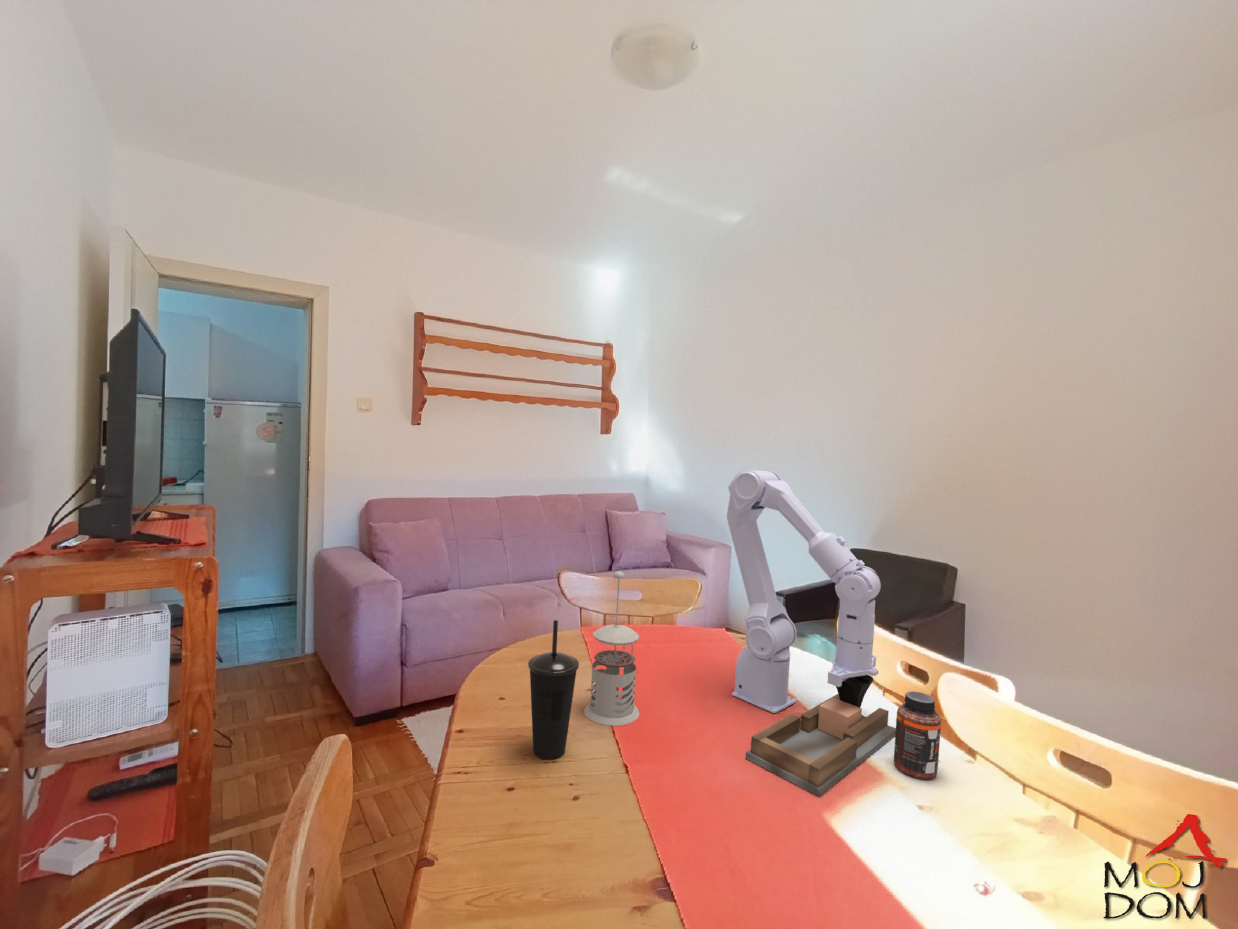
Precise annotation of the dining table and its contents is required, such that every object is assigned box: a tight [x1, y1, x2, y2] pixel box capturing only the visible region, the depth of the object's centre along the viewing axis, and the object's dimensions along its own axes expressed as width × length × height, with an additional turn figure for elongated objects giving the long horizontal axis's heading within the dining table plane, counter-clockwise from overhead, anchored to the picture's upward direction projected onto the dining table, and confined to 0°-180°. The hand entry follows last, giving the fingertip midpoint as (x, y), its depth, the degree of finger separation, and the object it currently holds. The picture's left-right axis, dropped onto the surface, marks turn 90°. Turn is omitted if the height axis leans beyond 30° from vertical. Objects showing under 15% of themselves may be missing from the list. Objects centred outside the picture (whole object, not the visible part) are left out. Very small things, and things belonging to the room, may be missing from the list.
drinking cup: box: [527, 619, 580, 761], centre depth 85 cm, size 8×8×20 cm
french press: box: [583, 570, 640, 727], centre depth 99 cm, size 10×12×25 cm
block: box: [818, 698, 863, 740], centre depth 94 cm, size 5×5×4 cm
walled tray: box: [745, 693, 896, 798], centre depth 91 cm, size 12×28×4 cm, turn 133°
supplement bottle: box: [893, 691, 942, 780], centre depth 85 cm, size 6×6×11 cm
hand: (849, 716), depth 96 cm, fingers closed
